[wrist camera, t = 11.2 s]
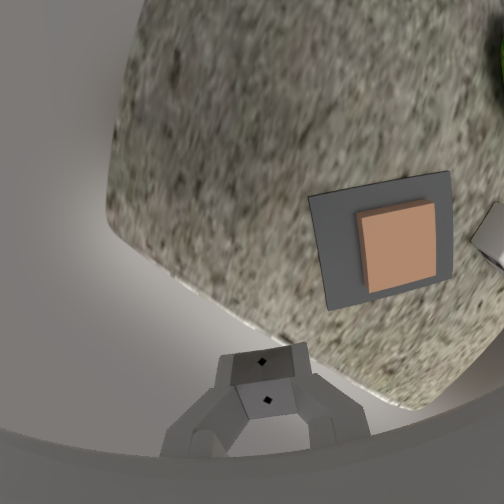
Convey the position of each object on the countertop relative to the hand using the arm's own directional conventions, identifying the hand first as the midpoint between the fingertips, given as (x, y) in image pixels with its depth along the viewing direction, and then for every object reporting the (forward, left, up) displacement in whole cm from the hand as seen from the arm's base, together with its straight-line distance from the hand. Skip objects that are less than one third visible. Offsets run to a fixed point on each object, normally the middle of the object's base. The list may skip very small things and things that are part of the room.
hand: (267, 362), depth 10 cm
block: (+9, +11, -27) cm, 30 cm away
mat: (+9, +15, -28) cm, 33 cm away
